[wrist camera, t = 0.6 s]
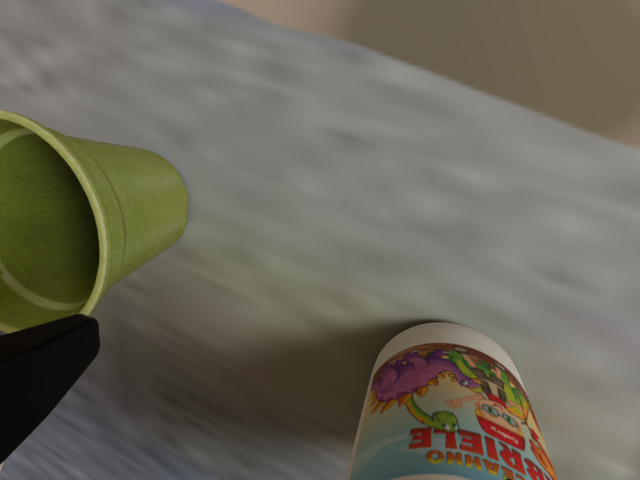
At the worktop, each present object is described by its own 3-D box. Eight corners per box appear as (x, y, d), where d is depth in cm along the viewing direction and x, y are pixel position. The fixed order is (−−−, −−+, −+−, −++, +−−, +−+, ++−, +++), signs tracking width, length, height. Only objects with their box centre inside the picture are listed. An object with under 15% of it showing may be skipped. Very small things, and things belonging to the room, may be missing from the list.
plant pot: (53, 185, 26) (-117, 208, 18) (143, 82, 23) (-13, 53, 15) (145, 302, 27) (20, 375, 19) (248, 216, 23) (150, 260, 15)
